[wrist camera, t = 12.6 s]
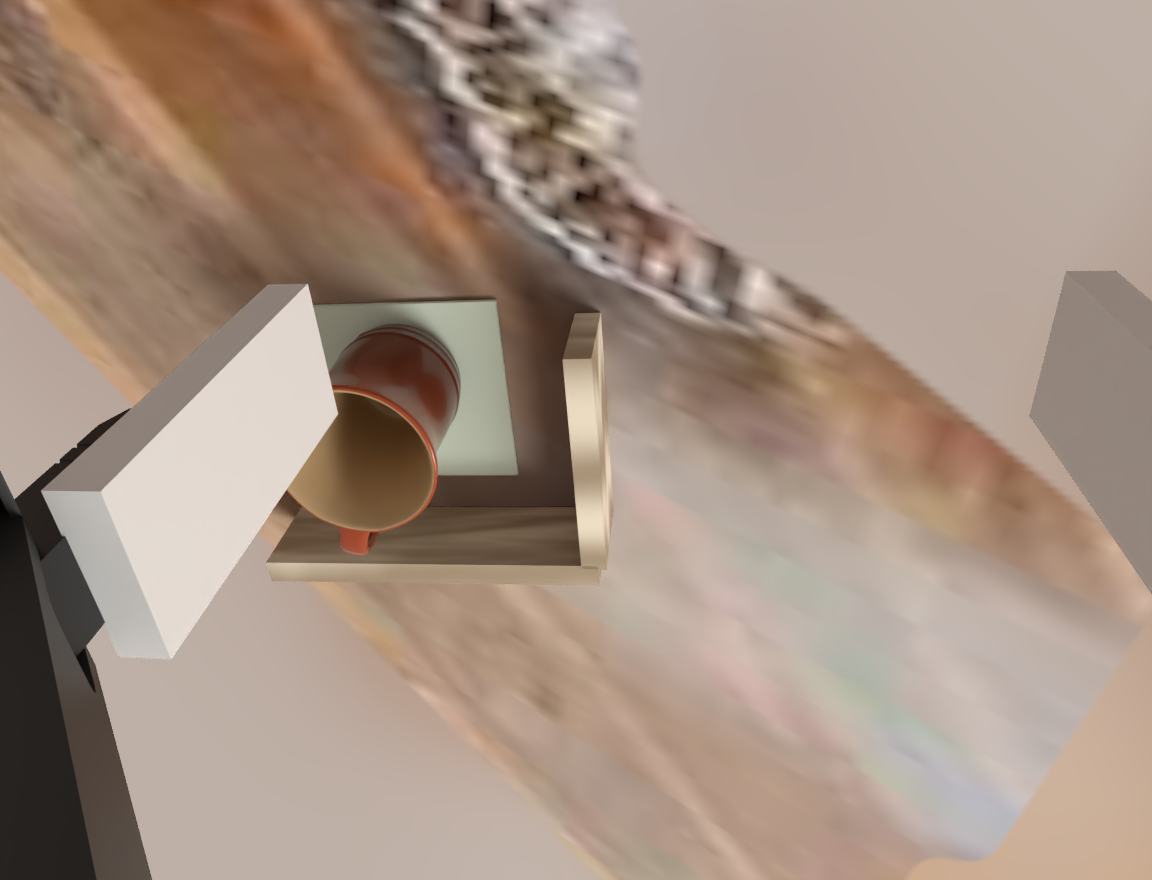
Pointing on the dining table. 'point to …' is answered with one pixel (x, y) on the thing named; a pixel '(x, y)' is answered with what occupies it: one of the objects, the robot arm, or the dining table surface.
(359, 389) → the mug
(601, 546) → the side wall
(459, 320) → the pad
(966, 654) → the dining table surface
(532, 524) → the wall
